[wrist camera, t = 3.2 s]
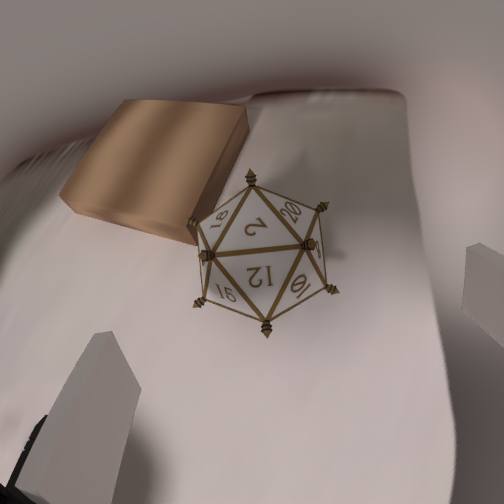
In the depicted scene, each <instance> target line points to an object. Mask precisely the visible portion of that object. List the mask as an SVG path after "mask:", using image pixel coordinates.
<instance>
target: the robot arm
mask: <svg viewBox="0 0 504 504" xmlns="http://www.w3.org/2000/svg"><path fill="white" fill-rule="evenodd" d="M461 310H462V311H463V312H465V313H466V314H467V315H468V316H469V317H470V318H471V319H473V320H474V321H475V322H476V323H477V324H478V325H479V326H481V327H482V328H483V329H484V330H485V331H486V332H488V334H489V335H491V336H492V337H493V338H494V339H495V340H496V341H497V342H498V343H499V344H500V345H501V346H503V348H504V256H503V255H501V254H499V253H498V252H496V251H494V250H492V249H490V248H488V247H486V246H484V245H482V244H481V243H479V244H476V245H473V246H469V247H467V248H466V266H465V280H464V291H463V301H462V309H461ZM140 392H141V387H140V385H139V383H138V382H137V380H136V378H135V376H134V374H133V372H132V370H131V368H130V367H129V365H128V363H127V361H126V359H125V357H124V355H123V353H122V351H121V349H120V347H119V345H118V343H117V341H116V338H115V336H114V334H113V332H112V331H109V332H103V333H97V334H94V335H93V337H92V338H91V340H90V342H89V343H88V345H87V347H86V348H85V350H84V352H83V353H82V355H81V357H80V359H79V360H78V362H77V364H76V365H75V367H74V369H73V371H72V372H71V374H70V376H69V378H68V379H67V381H66V383H65V385H64V386H63V388H62V390H61V392H60V394H59V396H58V397H57V399H56V401H55V403H54V405H53V407H52V409H51V411H50V412H49V414H48V415H45V416H44V417H43V418H42V419H41V420H40V421H39V423H38V424H37V425H36V426H35V428H34V429H33V431H32V433H31V435H30V437H29V441H27V443H26V445H25V447H24V449H25V450H24V451H22V453H21V455H20V457H19V460H18V462H17V464H16V466H15V468H14V470H13V472H12V475H11V477H10V479H9V481H8V483H7V485H6V487H4V486H3V485H2V484H1V483H0V504H111V503H112V498H113V494H114V490H115V486H116V481H117V477H118V473H119V469H120V465H121V461H122V457H123V453H124V450H125V446H126V442H127V438H128V435H129V431H130V427H131V424H132V420H133V417H134V413H135V410H136V406H137V403H138V399H139V396H140Z"/></svg>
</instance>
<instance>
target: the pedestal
mask: <svg viewBox="0 0 504 504" xmlns="http://www.w3.org/2000/svg"><path fill="white" fill-rule="evenodd" d="M248 133H249V125H248V119H247V112H246V107H243V106H234V105H225V104H214V103H201V102H187V101H168V100H124V102H123V103H122V104H121V105H120V106H119V108H118V109H117V110H116V112H115V113H114V114H113V116H112V117H111V118H110V119H109V121H108V122H107V123H106V125H105V126H104V128H103V129H102V130H101V131H100V133H99V134H98V135H97V137H96V138H95V140H94V141H93V142H92V144H91V145H90V147H89V148H88V150H87V151H86V153H85V154H84V156H83V157H82V159H81V160H80V162H79V163H78V165H77V166H76V168H75V169H74V171H73V172H72V174H71V175H70V177H69V179H68V180H67V182H66V183H65V185H64V187H63V188H62V190H61V192H60V193H59V195H58V196H59V197H60V198H61V199H62V200H63V201H64V202H65V203H66V204H67V205H68V206H69V207H70V208H71V209H72V210H73V211H74V212H75V213H78V214H81V215H85V216H88V217H92V218H96V219H99V220H103V221H106V222H110V223H114V224H117V225H121V226H125V227H128V228H132V229H136V230H139V231H143V232H147V233H150V234H154V235H158V236H161V237H165V238H169V239H172V240H176V241H180V242H183V243H187V244H191V245H194V246H198V240H197V227H195V226H193V227H192V226H191V225H188V223H187V222H186V220H185V218H190V217H192V216H193V218H194V219H195V218H196V220H197V221H198V222H200V221H201V220H203V219H204V218H205V217H207V216H208V215H210V214H211V213H212V212H213V209H214V207H215V205H216V203H217V200H218V198H219V196H220V194H221V191H222V189H223V187H224V185H225V183H226V180H227V178H228V176H229V174H230V172H231V169H232V167H233V165H234V163H235V161H236V159H237V156H238V154H239V152H240V150H241V148H242V146H243V144H244V142H245V140H246V137H247V135H248Z"/></svg>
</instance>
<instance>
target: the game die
mask: <svg viewBox="0 0 504 504" xmlns="http://www.w3.org/2000/svg"><path fill="white" fill-rule="evenodd" d="M245 178H246V179H247V180H246V182H248V184H249V186H248V187H247V188H245V189H244V190H242V191H241V192H240V193H238V194H237V195H235V196H234V197H233V198H231V199H230V200H229V201H227V202H226V203H224V204H223V205H222V206H220V207H219V208H218V209H216V210H215V211H214V212H212V213H211V214H210V215H208V216H207V217H205V218H204V219H203V220H201V221H200V222H198V221H197V220H196V218H195V219H194V218H193V216H192V217H190V218H185V220H186V222H187V223H188V225H191V226H192V227H193V226H195V227H197V240H198V252H199V255H198V257H199V263H200V274H201V284H202V294H203V296H202V297H201V298H198V299H197V300H195V302H194V305H193V308H197V307H200V308H201V306H202V305H203V306H204V303H205V302H206V301H208V302H211V303H213V304H216V305H218V306H221V307H224V308H226V309H229V310H231V311H234V312H237V313H239V314H242V315H245V316H247V317H250V318H253V319H255V320H258V321H261V322H263V324H262V326H261V328H262V330H261V332H262V333H263V334H264V335H265V336H266V337H267V339H268V337H269V335H270V333H271V332H272V329H271V327H272V325H270V321H272V320H274V319H275V318H277V317H279V316H280V315H282V314H284V313H285V312H287V311H289V310H291V309H292V308H294V307H296V306H297V305H299V304H301V303H302V302H304V301H306V300H307V299H309V298H310V297H312V296H314V295H315V294H317V293H319V292H320V291H322V290H323V289H326V290H327V291H328V293H331V295H332V294H336V293H340V292H339V291H338V289H337V288H336V286H333V285H332V284H331V285H328V284H327V279H326V269H325V260H324V251H323V242H322V234H321V226H320V218H319V213H320V212H324V210H327V206H328V204H329V202H323V203H322V202H320V204H319V205H318V206H317V208H316V209H314V208H311V207H309V206H307V205H304V204H302V203H299V202H297V201H294V200H292V199H289V198H287V197H284V196H282V195H279V194H277V193H274V192H272V191H269V190H267V189H264V188H261V187H259V186H256V185H255V182H256V181H257V180H256V175H255V174H254V173H253V172H252V170H251V169H249V171H248V173H247V175H246V176H245Z"/></svg>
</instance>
